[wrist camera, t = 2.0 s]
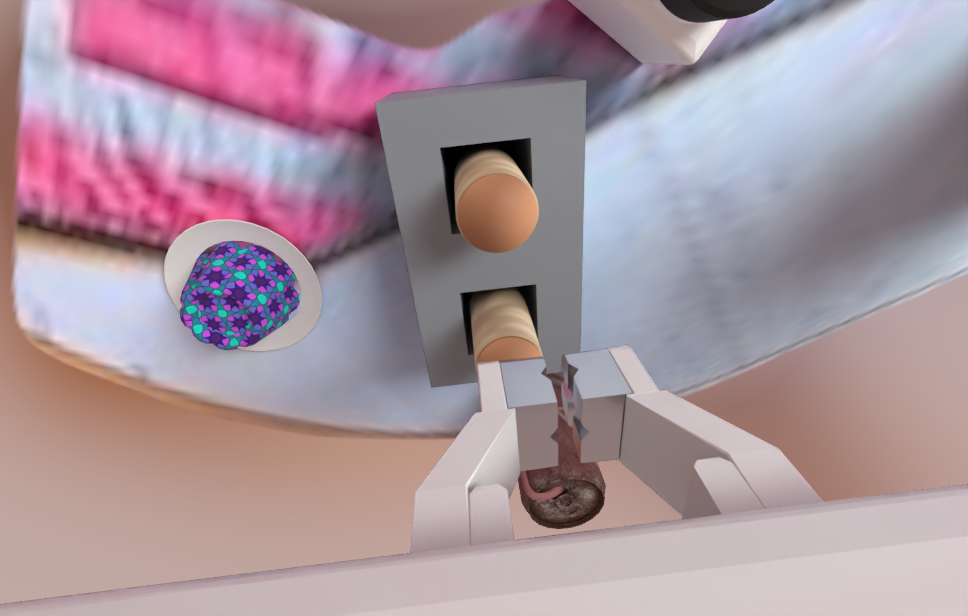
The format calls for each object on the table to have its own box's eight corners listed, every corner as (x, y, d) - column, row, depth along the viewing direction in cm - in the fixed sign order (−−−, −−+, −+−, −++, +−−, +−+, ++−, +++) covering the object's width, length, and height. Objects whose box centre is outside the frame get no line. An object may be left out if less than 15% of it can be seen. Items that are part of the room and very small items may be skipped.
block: (553, 75, 29) (586, 80, 22) (556, 314, 39) (579, 369, 32) (392, 92, 29) (374, 103, 22) (434, 329, 39) (431, 387, 32)
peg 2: (523, 275, 31) (543, 333, 24) (525, 323, 33) (544, 388, 26) (466, 281, 30) (471, 341, 24) (472, 329, 32) (479, 396, 26)
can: (510, 347, 40) (537, 471, 28) (572, 360, 42) (624, 483, 29) (491, 396, 43) (508, 528, 31) (550, 406, 44) (589, 537, 32)
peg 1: (516, 140, 26) (538, 167, 20) (519, 206, 28) (541, 250, 22) (450, 148, 26) (450, 177, 19) (458, 212, 28) (461, 259, 22)
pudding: (144, 217, 32) (95, 243, 28) (309, 214, 33) (286, 239, 29) (197, 349, 38) (163, 388, 34) (335, 343, 39) (320, 381, 35)
